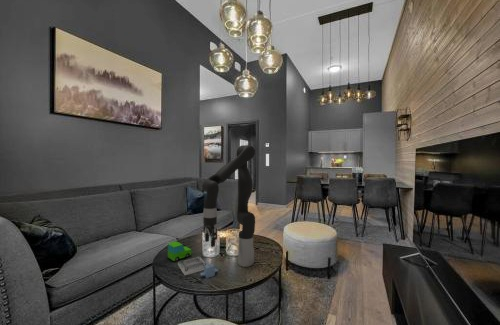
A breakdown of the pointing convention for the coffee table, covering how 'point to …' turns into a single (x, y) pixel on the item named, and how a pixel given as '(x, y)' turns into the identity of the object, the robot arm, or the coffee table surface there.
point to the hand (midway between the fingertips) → (209, 243)
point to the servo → (209, 271)
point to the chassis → (191, 265)
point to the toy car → (178, 251)
